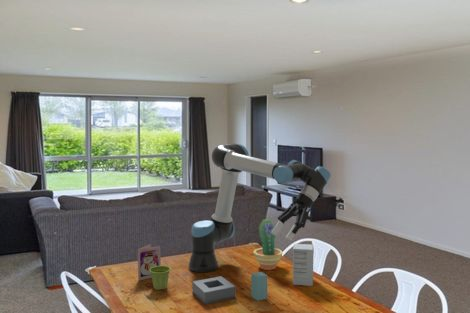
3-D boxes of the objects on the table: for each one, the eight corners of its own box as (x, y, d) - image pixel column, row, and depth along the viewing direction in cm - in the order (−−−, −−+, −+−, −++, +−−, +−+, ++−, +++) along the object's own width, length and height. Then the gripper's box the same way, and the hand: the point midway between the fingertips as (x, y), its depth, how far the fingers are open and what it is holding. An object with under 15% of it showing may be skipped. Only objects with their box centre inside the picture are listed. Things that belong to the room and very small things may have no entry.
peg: (251, 296, 180) (251, 273, 180) (261, 294, 183) (261, 271, 182) (257, 300, 176) (256, 277, 175) (267, 298, 178) (267, 275, 177)
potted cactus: (248, 269, 214) (248, 221, 212) (258, 260, 228) (258, 215, 227) (278, 273, 208) (278, 223, 206) (286, 264, 222) (286, 217, 221)
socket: (192, 292, 185) (192, 281, 185) (221, 286, 191) (221, 276, 191) (204, 304, 172) (204, 292, 172) (235, 297, 179) (235, 286, 178)
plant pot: (174, 285, 194) (174, 266, 193) (164, 292, 185) (164, 273, 185) (156, 282, 197) (156, 264, 196) (145, 290, 188) (145, 271, 188)
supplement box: (312, 286, 191) (313, 249, 190) (292, 285, 193) (292, 248, 192) (313, 279, 200) (313, 244, 199) (293, 277, 202) (293, 243, 201)
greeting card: (139, 281, 200) (138, 250, 198) (133, 276, 206) (132, 246, 205) (161, 276, 206) (160, 246, 205) (155, 272, 212) (155, 242, 211)
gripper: (328, 205, 178) (301, 246, 173) (298, 200, 201) (273, 236, 196) (316, 194, 176) (288, 236, 171) (287, 190, 199) (262, 227, 194)
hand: (280, 236), depth 183 cm, fingers open, 13 cm apart
